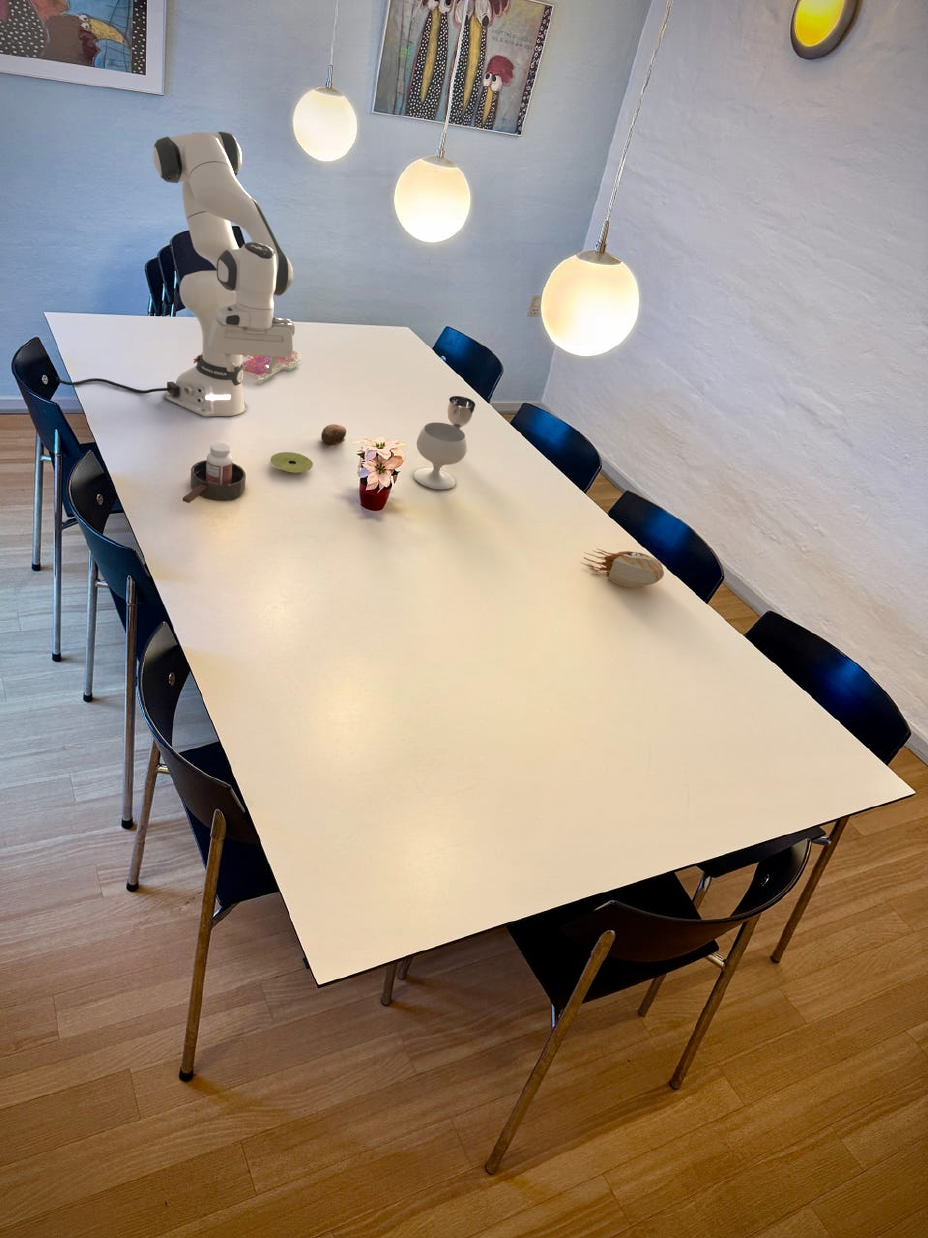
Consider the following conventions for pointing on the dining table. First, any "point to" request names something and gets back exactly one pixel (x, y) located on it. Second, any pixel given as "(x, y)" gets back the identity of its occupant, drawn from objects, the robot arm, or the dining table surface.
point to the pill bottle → (219, 464)
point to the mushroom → (333, 434)
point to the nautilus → (630, 568)
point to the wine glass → (460, 410)
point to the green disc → (291, 462)
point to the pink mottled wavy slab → (252, 365)
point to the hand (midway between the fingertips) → (249, 372)
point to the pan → (217, 490)
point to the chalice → (439, 453)
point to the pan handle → (195, 493)
